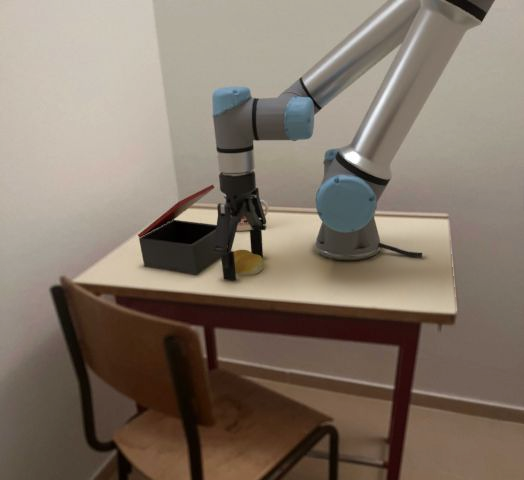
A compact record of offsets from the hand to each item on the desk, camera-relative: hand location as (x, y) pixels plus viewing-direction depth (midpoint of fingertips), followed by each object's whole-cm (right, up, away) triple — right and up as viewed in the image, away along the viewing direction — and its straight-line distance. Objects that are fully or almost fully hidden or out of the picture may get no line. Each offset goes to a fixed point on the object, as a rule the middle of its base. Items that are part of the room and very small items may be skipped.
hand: (244, 268), depth 118 cm
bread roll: (0, 0, 0) cm, 0 cm away
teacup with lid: (0, +15, +25) cm, 29 cm away
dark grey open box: (-14, +3, +7) cm, 16 cm away
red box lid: (-15, +13, +1) cm, 20 cm away
